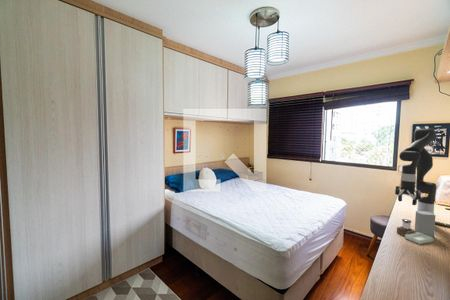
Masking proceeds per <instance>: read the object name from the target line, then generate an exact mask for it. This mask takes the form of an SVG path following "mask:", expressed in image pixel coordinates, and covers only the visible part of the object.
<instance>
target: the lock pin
mask: <svg viewBox="0 0 450 300" xmlns="http://www.w3.org/2000/svg"><path fill="white" fill-rule="evenodd" d="M401 221H402V229H405V230H407V231H409V230H410V228H411V223H412V220H410V219H407V218H401Z"/></svg>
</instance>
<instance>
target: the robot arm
mask: <svg viewBox="0 0 450 300" xmlns="http://www.w3.org/2000/svg"><path fill="white" fill-rule="evenodd" d="M436 136H437V133H436V131H435V129H433V128H417V129H415V131H414V132H413V138H414V142H412V143H411V144H410V145H409V146H408V147H407V148H405V149H403V150H401V152H400V153H399V157H398V158H399V159H400V160H401V161H403V162H411V163H409V164H403V165H402V167H401V169H402V170H401V178H400V185H398V186H395V192H394V194H395V195H397V201H398V202H402V201H403V196H404V195H407V196H410V197H411V198H412V203H411V205H412V206H416V205H417V210H416V211H424V212H431V213H432V214H434V215H435V202H436V195H437V189H438V188H437V184H436V183H435V182H430V181H424V178H425V176H426V175H427V174H428V172H429V171H431V169H432V168H433V166H434V163H433V156H432V155H431V154H430V153H429V151H428V150H427V149H426V148H425V147H426V146H428V145H429V144H430V143H432V142H433V141H434V140H435V139H436ZM422 194H427V196H422Z"/></svg>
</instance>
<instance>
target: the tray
mask: <svg viewBox="0 0 450 300" xmlns="http://www.w3.org/2000/svg"><path fill="white" fill-rule="evenodd" d="M404 239H406V240H408V241H410V242H413V243H416V244H417V243H418V245H422V244H428V243H434V237H430V236H427V235H424V234H422V233H419V232H418V233H416V232H415V233H412V234H406V235H405V236H404Z"/></svg>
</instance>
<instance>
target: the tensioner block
mask: <svg viewBox="0 0 450 300" xmlns="http://www.w3.org/2000/svg"><path fill="white" fill-rule="evenodd" d="M402 226H403V225H402ZM402 226H397V227H396V233H397V234H399V235H402V236H404V237H405V235H406V234H412V233H416V230H415V229H413V228H411V227H410V230H409V231H407V230H405V229H402Z"/></svg>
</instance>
